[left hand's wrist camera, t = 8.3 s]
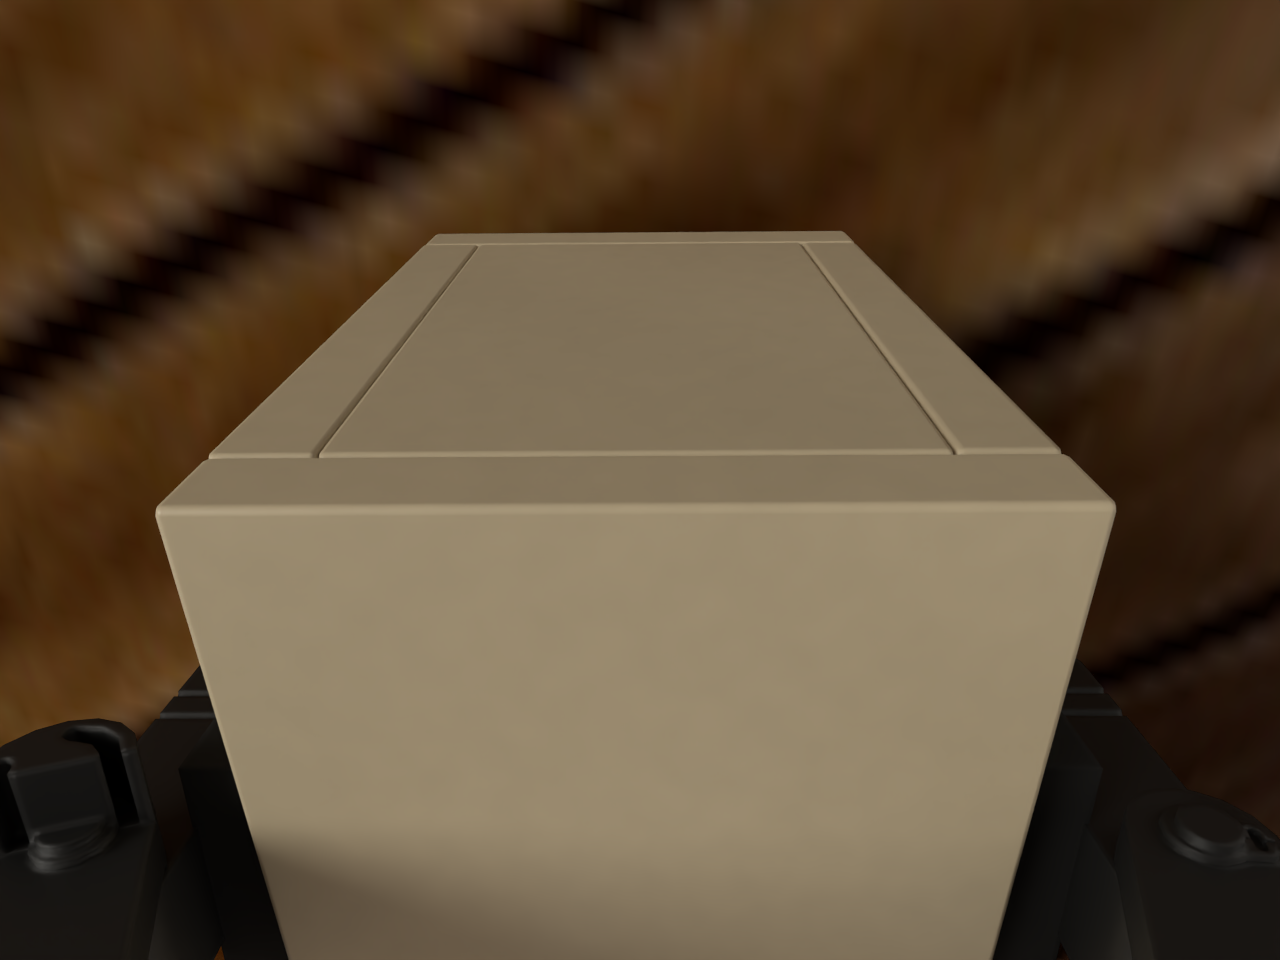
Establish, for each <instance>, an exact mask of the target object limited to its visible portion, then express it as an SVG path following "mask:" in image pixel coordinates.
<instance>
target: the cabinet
mask: <svg viewBox="0 0 1280 960" xmlns="http://www.w3.org/2000/svg"><path fill="white" fill-rule="evenodd" d="M1115 514H1116V505H1115V502H1114V501H1113V500H1112V499H1111V498H1110V497H1109V496H1108V495H1107V494H1106V493H1105V492H1104V491H1103V490H1102V489H1101V488H1100V487H1099V486H1098V485H1097V484H1096V483H1095V482H1094V481H1093V480H1092V479H1091V478H1090V477H1089V476H1088V475H1087V474H1086V473H1085V472H1084V471H1083V470H1082V469H1081V468H1080V467H1079V466H1078V465H1077V464H1076V463H1075V462H1074V461H1073V460H1072V459H1071V458H1070V457H1069V456H1066V455H1064V454H1061V450H1060V448H1059V447H1058V446H1057V445H1056V444H1055V443H1054V442H1053V441H1052V440H1051V439H1050V438H1049V437H1048V436H1047V435H1046V434H1045V433H1044V432H1043V431H1042V430H1041V429H1040V428H1039V427H1038V426H1037V425H1036V424H1035V423H1034V422H1033V421H1032V420H1031V419H1030V418H1029V417H1028V416H1027V415H1026V414H1025V413H1024V412H1023V411H1022V410H1021V409H1020V408H1019V407H1018V406H1017V405H1016V404H1015V403H1014V402H1013V401H1012V400H1011V399H1010V398H1009V397H1008V396H1007V395H1006V394H1005V393H1004V392H1003V391H1002V390H1001V389H1000V388H999V387H998V386H997V385H996V384H995V383H994V382H993V381H992V380H991V379H990V378H989V377H988V376H987V375H986V374H985V373H984V372H983V371H982V370H981V369H980V368H979V367H978V366H977V365H976V364H975V363H974V362H973V361H972V360H971V359H970V358H969V357H968V356H967V355H966V354H965V353H964V352H963V351H962V350H961V349H960V348H959V347H958V346H957V345H956V344H955V343H954V342H953V341H952V340H951V339H950V338H949V337H948V336H947V335H946V334H945V333H944V332H943V331H942V330H941V329H940V328H939V327H938V326H937V325H936V324H935V323H934V322H933V321H932V320H931V319H930V318H929V317H928V316H927V315H926V314H925V313H924V312H923V311H922V310H921V309H920V308H919V307H918V306H917V305H916V304H915V303H914V302H913V301H912V300H911V299H910V298H909V297H908V296H907V295H906V294H905V293H904V292H903V291H902V290H901V289H900V288H899V287H898V286H897V285H896V284H895V283H894V282H893V281H892V280H891V279H890V278H889V277H888V276H887V275H886V274H885V273H884V272H883V271H882V270H881V269H880V268H879V267H878V266H877V265H876V264H875V263H874V262H873V261H872V260H871V259H870V258H869V257H868V256H867V255H866V254H865V253H864V252H863V251H862V250H861V249H860V248H859V247H858V246H857V245H856V244H854V242H853V241H852V240H851V239H850V238H849V237H848V236H847V235H846V234H845V233H844V232H842V231H787V232H649V233H511V234H438V235H436V236H435V237H434V238H433V239H432V240H431V241H430V242H429V243H427V244H426V245H425V246H423V247H422V248H421V249H420V250H419V251H418V252H417V253H416V254H415V255H414V256H413V257H412V258H411V259H410V260H409V261H408V262H407V263H406V264H405V265H404V266H403V267H402V268H401V269H400V270H399V271H398V272H397V273H396V274H395V275H394V276H393V277H392V278H390V279H389V280H388V281H387V282H386V283H385V284H384V285H383V286H382V287H381V288H380V289H379V290H378V291H377V292H376V293H375V294H374V295H373V296H372V297H371V298H370V299H369V300H368V301H367V302H366V303H365V304H364V305H363V306H362V307H361V308H360V309H359V310H358V311H357V312H355V313H354V314H353V315H352V316H351V317H350V318H349V319H348V320H347V321H346V322H345V323H344V324H343V325H342V326H341V327H340V328H339V329H338V330H337V331H336V332H335V333H334V334H333V335H332V336H331V337H330V338H329V339H328V340H327V341H326V342H325V343H324V344H323V345H322V346H320V347H319V348H318V349H317V350H316V351H315V352H314V353H313V354H312V355H311V356H310V357H309V358H308V359H307V360H306V361H305V362H304V363H303V364H302V365H301V366H300V367H299V368H298V369H297V370H296V371H295V372H294V373H293V374H292V375H291V376H290V377H289V378H288V379H287V380H285V381H284V382H283V383H282V384H281V385H280V386H279V387H278V388H277V389H276V390H275V391H274V392H273V393H272V394H271V395H270V396H269V397H268V398H267V399H266V400H265V401H264V402H263V403H262V404H261V405H260V406H259V407H258V408H257V409H256V410H255V411H254V412H253V413H252V414H250V415H249V416H248V417H247V418H246V419H245V420H244V421H243V422H242V423H241V424H240V425H239V426H238V427H237V428H236V429H235V430H234V431H233V432H232V433H231V434H230V435H229V436H228V437H227V438H226V439H225V440H224V441H223V442H222V443H221V444H220V445H219V446H218V447H216V448H215V449H214V450H213V451H212V452H211V453H210V455H209V459H208V460H206V461H203V462H202V463H201V464H200V465H199V466H198V467H197V468H196V469H195V470H194V471H193V472H192V473H191V474H190V475H189V476H188V477H187V478H186V479H185V480H184V481H183V482H182V483H181V484H180V485H179V486H178V487H177V488H176V489H175V490H174V491H173V492H172V493H171V494H170V495H168V496H167V497H166V498H165V499H164V500H163V501H162V502H161V503H160V504H159V505H158V506H157V509H156V519H157V523H158V526H159V529H160V533H161V536H162V539H163V543H164V546H165V549H166V553H167V556H168V559H169V563H170V566H171V569H172V573H173V576H174V579H175V583H176V586H177V589H178V593H179V596H180V599H181V603H182V606H183V609H184V613H185V616H186V619H187V623H188V626H189V629H190V633H191V636H192V639H193V643H194V646H195V649H196V653H197V656H198V659H199V663H200V666H201V669H202V673H203V676H204V679H205V682H206V686H207V689H208V692H209V696H210V699H211V702H212V706H213V709H214V712H215V716H216V719H217V722H218V726H219V729H220V732H221V736H222V739H223V742H224V746H225V749H226V752H227V756H228V759H229V762H230V766H231V769H232V772H233V776H234V779H235V782H236V786H237V789H238V792H239V796H240V799H241V802H242V806H243V809H244V812H245V816H246V819H247V822H248V826H249V829H250V832H251V836H252V839H253V842H254V846H255V849H256V852H257V856H258V859H259V862H260V866H261V869H262V872H263V876H264V879H265V882H266V886H267V889H268V892H269V896H270V899H271V902H272V906H273V909H274V912H275V916H276V919H277V922H278V926H279V929H280V932H281V936H282V939H283V942H284V946H285V949H286V952H287V956H288V959H289V960H992V959H993V955H994V952H995V948H996V944H997V941H998V937H999V934H1000V930H1001V926H1002V923H1003V919H1004V916H1005V912H1006V908H1007V905H1008V901H1009V897H1010V894H1011V890H1012V887H1013V883H1014V879H1015V876H1016V872H1017V869H1018V865H1019V861H1020V858H1021V854H1022V850H1023V847H1024V843H1025V840H1026V836H1027V832H1028V829H1029V825H1030V821H1031V818H1032V814H1033V811H1034V807H1035V803H1036V800H1037V796H1038V793H1039V789H1040V785H1041V782H1042V778H1043V774H1044V771H1045V767H1046V764H1047V760H1048V756H1049V753H1050V749H1051V746H1052V742H1053V738H1054V735H1055V731H1056V727H1057V724H1058V720H1059V717H1060V713H1061V709H1062V706H1063V702H1064V698H1065V695H1066V691H1067V688H1068V684H1069V680H1070V677H1071V673H1072V670H1073V666H1074V662H1075V659H1076V655H1077V651H1078V648H1079V644H1080V641H1081V637H1082V633H1083V630H1084V626H1085V623H1086V619H1087V615H1088V612H1089V608H1090V604H1091V601H1092V597H1093V594H1094V590H1095V586H1096V583H1097V579H1098V575H1099V572H1100V568H1101V565H1102V561H1103V557H1104V554H1105V550H1106V547H1107V543H1108V539H1109V536H1110V532H1111V528H1112V525H1113V521H1114V518H1115Z"/></svg>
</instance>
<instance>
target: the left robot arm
mask: <svg viewBox="0 0 1280 960" xmlns="http://www.w3.org/2000/svg"><path fill="white" fill-rule="evenodd" d="M1121 712H1122V710H1121V709H1120V708H1119V707H1118V705H1117V704H1116V703H1115V702H1114V701H1113V699H1112V698H1111V697H1110V696H1109V695H1108V694H1104V692H1103V687H1102V686H1101V685H1100V684H1099V683H1098V681H1097V680H1096V679H1095V678H1094V676H1093V675H1092V674H1091V673H1090V672H1089V670H1088V669H1087V668H1086V667H1085V666H1084V664H1083V663H1082V662H1081V661H1079V660H1078V659H1075V662H1074V666H1073V670H1072V673H1071V677H1070V680H1069V684H1068V688H1067V691H1066V695H1065V698H1064V702H1063V706H1062V709H1061V713H1060V717H1059V720H1058V724H1057V727H1056V731H1055V735H1054V738H1053V742H1052V746H1051V749H1050V753H1049V756H1048V760H1047V764H1046V767H1045V771H1044V774H1043V778H1042V782H1041V785H1040V789H1039V793H1038V796H1037V800H1036V803H1035V807H1034V811H1033V814H1032V818H1031V821H1030V825H1029V829H1028V832H1027V836H1026V840H1025V843H1024V847H1023V850H1022V854H1021V858H1020V861H1019V865H1018V869H1017V872H1016V876H1015V879H1014V883H1013V887H1012V890H1011V894H1010V897H1009V901H1008V905H1007V908H1006V912H1005V916H1004V919H1003V923H1002V926H1001V930H1000V934H999V937H998V941H997V944H996V948H995V952H994V955H993V959H992V960H1056V958H1057V954H1058V950H1059V946H1060V942H1061V944H1062V946H1063V948H1064V950H1065V952H1066V954H1067V956H1068V958H1069V959H1070V960H1280V840H1279V838H1278V837H1277V835H1275V834H1274V833H1273V832H1272V831H1270V830H1269V829H1268V828H1267V827H1265V826H1264V825H1263V824H1262V823H1260V822H1259V821H1258V820H1257V819H1256V818H1254V817H1253V816H1252V815H1250V814H1248V813H1246V812H1244V811H1242V810H1240V809H1238V808H1236V807H1235V806H1233V805H1231V804H1229V803H1227V802H1225V801H1223V800H1221V799H1217V798H1214V797H1211V796H1208V795H1205V794H1201V793H1198V792H1195V791H1192V790H1187V789H1186V787H1185V786H1184V785H1183V784H1182V783H1181V781H1180V780H1179V779H1178V778H1177V777H1176V775H1175V774H1174V773H1173V772H1172V771H1171V769H1170V768H1169V767H1168V766H1167V765H1166V763H1165V762H1164V761H1163V760H1162V759H1161V757H1160V756H1159V755H1158V754H1157V752H1156V751H1155V750H1154V749H1153V748H1152V746H1151V745H1150V744H1149V743H1148V742H1147V740H1146V739H1145V738H1144V737H1143V736H1142V734H1141V733H1140V732H1139V731H1138V730H1137V728H1136V727H1135V726H1134V725H1133V724H1132V722H1131V721H1130V720H1129V719H1128V717H1127V716H1122V713H1121ZM221 946H222V950H223V954H224V958H225V960H289V959H288V956H287V952H286V949H285V946H284V942H283V939H282V936H281V932H280V929H279V926H278V922H277V919H276V916H275V912H274V909H273V906H272V902H271V899H270V896H269V892H268V889H267V886H266V882H265V879H264V876H263V872H262V869H261V866H260V862H259V859H258V856H257V852H256V849H255V846H254V842H253V839H252V836H251V832H250V829H249V826H248V822H247V819H246V816H245V812H244V809H243V806H242V802H241V799H240V796H239V792H238V789H237V786H236V782H235V779H234V776H233V772H232V769H231V766H230V762H229V759H228V756H227V752H226V749H225V746H224V742H223V739H222V736H221V732H220V729H219V726H218V722H217V719H216V716H215V712H214V709H213V706H212V702H211V699H210V696H209V692H208V689H207V686H206V682H205V679H204V676H203V673H202V669H201V666H199V667H198V668H197V669H196V671H195V672H194V673H193V674H192V676H191V677H190V678H189V679H188V680H187V682H186V683H185V684H184V685H183V686H182V688H181V689H180V690H179V694H178V697H173V699H172V700H171V701H170V702H169V703H168V705H167V706H166V707H165V708H164V710H163V711H162V712H161V713H160V719H155V720H154V722H153V723H152V724H151V725H150V727H149V728H148V729H147V730H146V731H145V733H144V734H143V735H142V736H141V737H140V739H139V740H138V741H137V740H136V736H135V733H134V732H133V731H131V730H130V729H129V728H127V727H126V726H125V725H124V724H122V723H121V722H115V721H110V720H104V719H99V718H98V719H86V720H75V721H67V722H63V723H60V724H56V725H53V726H49V727H45V728H42V729H38V730H35V731H33V732H31V733H29V734H26V735H24V736H22V737H20V738H18V739H16V740H14V741H11V742H9V743H7V744H5V745H3V746H2V747H0V960H214V958H215V956H216V954H217V952H218V950H219V948H220V947H221Z"/></svg>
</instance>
